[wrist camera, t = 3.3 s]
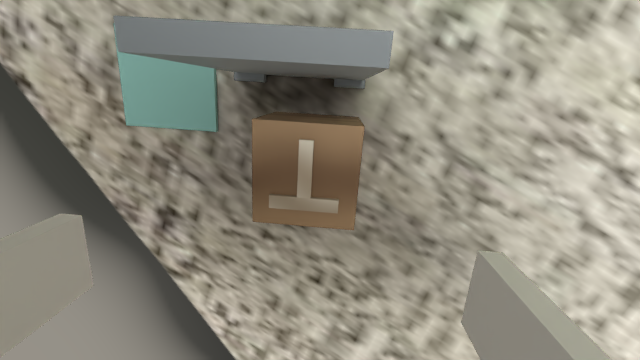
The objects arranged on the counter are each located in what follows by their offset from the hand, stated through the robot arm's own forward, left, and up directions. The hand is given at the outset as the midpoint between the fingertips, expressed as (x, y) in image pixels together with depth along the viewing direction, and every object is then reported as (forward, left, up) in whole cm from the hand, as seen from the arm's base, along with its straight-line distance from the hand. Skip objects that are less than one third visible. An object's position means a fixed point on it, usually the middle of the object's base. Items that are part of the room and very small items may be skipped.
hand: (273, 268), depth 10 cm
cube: (0, 0, -17) cm, 17 cm away
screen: (-7, -2, -17) cm, 18 cm away
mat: (-6, -13, -17) cm, 22 cm away
